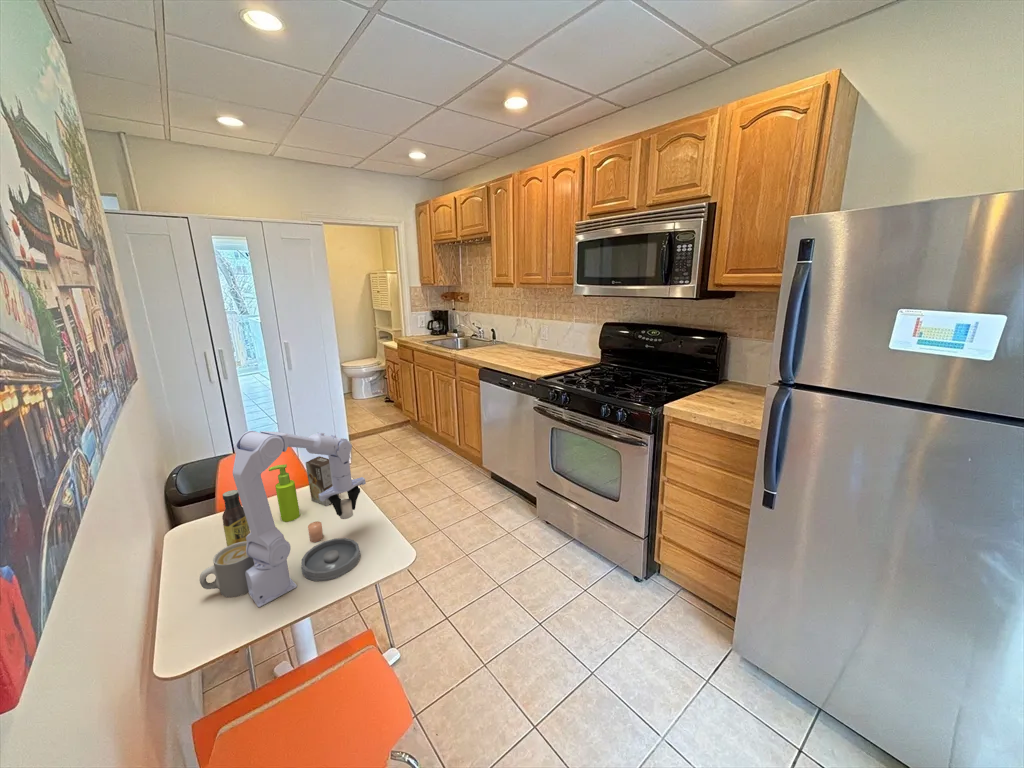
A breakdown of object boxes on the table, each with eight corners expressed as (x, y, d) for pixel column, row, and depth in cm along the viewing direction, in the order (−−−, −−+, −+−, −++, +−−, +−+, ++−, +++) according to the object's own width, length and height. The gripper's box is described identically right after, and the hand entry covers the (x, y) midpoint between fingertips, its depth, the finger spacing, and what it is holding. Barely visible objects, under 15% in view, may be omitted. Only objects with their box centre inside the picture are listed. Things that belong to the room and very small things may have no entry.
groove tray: (316, 590, 109) (315, 582, 108) (292, 564, 119) (291, 556, 118) (370, 559, 120) (369, 552, 120) (344, 538, 130) (343, 531, 130)
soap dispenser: (278, 515, 144) (269, 464, 139) (300, 511, 147) (291, 460, 142) (277, 524, 139) (267, 471, 134) (299, 519, 142) (290, 467, 137)
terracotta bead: (313, 544, 128) (311, 530, 127) (307, 539, 130) (305, 525, 129) (325, 538, 131) (323, 524, 130) (319, 533, 133) (318, 520, 132)
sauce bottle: (241, 558, 122) (228, 500, 117) (223, 556, 123) (210, 498, 118) (258, 545, 128) (247, 489, 123) (241, 543, 129) (229, 487, 124)
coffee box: (340, 498, 155) (335, 460, 151) (326, 506, 149) (320, 467, 145) (324, 493, 159) (319, 455, 155) (310, 500, 154) (304, 462, 150)
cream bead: (343, 520, 128) (341, 506, 127) (337, 516, 131) (335, 502, 129) (355, 515, 131) (353, 501, 130) (349, 510, 134) (347, 497, 132)
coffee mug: (263, 566, 118) (258, 537, 115) (262, 588, 109) (255, 557, 107) (208, 583, 112) (200, 552, 109) (201, 607, 103) (193, 574, 101)
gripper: (356, 462, 135) (360, 498, 138) (312, 478, 124) (318, 516, 128) (366, 468, 130) (371, 505, 134) (322, 485, 120) (328, 525, 123)
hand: (346, 511), depth 130 cm, fingers closed on cream bead, 4 cm apart
